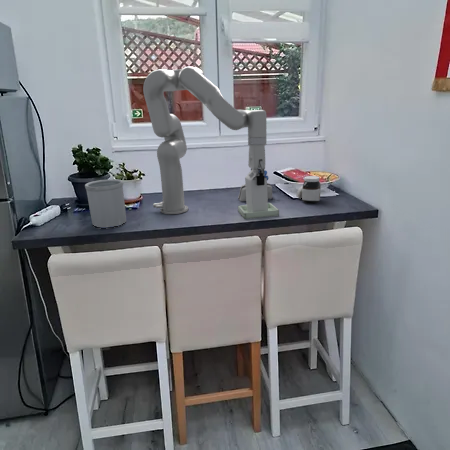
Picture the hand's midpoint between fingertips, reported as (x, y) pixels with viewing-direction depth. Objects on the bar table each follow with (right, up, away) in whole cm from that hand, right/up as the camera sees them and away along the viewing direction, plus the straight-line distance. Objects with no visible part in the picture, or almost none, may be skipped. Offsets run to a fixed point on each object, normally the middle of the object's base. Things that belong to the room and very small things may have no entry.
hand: (257, 182), depth 166 cm
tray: (+1, -13, +4) cm, 14 cm away
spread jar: (+26, -7, +21) cm, 33 cm away
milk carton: (0, -12, +4) cm, 13 cm away
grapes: (+4, 0, +43) cm, 43 cm away
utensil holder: (-62, -17, -1) cm, 65 cm away
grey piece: (+1, -6, +26) cm, 27 cm away
